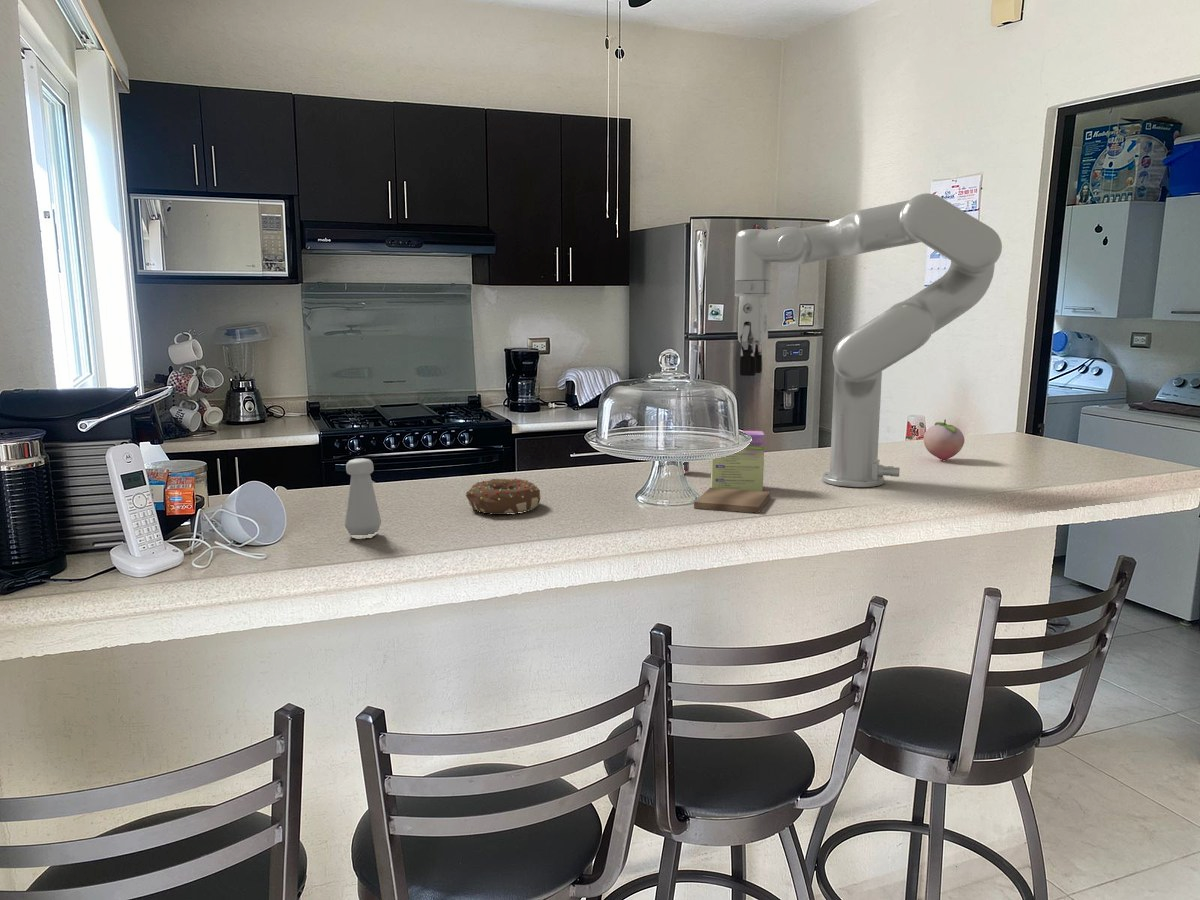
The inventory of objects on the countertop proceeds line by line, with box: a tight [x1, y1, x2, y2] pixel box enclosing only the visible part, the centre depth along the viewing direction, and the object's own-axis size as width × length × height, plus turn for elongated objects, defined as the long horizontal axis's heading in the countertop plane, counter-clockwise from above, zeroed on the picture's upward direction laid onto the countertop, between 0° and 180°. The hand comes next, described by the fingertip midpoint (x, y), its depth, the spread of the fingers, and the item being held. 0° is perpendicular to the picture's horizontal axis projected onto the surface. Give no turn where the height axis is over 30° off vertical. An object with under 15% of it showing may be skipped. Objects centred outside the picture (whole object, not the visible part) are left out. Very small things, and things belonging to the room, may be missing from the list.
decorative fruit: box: [923, 419, 965, 461], centre depth 202 cm, size 9×8×10 cm
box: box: [710, 430, 765, 491], centre depth 174 cm, size 10×6×12 cm, turn 84°
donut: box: [465, 477, 541, 514], centre depth 159 cm, size 14×14×5 cm
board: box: [693, 487, 771, 514], centre depth 162 cm, size 12×13×1 cm
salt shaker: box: [344, 457, 382, 536], centre depth 140 cm, size 6×6×13 cm
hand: (750, 373), depth 183 cm, fingers open, 6 cm apart
